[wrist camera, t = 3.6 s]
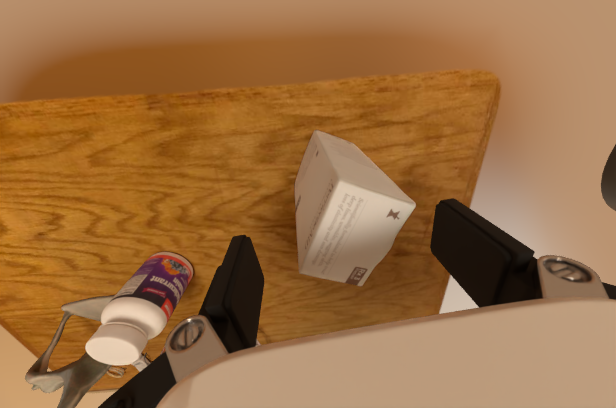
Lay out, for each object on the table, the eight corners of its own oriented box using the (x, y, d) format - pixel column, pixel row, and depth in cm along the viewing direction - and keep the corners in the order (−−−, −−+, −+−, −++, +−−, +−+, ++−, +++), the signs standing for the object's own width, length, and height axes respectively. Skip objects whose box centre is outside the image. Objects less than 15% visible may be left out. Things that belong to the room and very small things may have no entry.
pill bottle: (203, 274, 27) (161, 359, 19) (168, 288, 28) (113, 376, 20) (173, 243, 25) (110, 324, 16) (136, 260, 26) (57, 345, 17)
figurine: (85, 331, 31) (-71, 511, 18) (57, 300, 28) (-156, 490, 15) (162, 323, 31) (64, 496, 18) (142, 292, 28) (8, 472, 15)
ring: (99, 373, 35) (112, 370, 34) (104, 366, 36) (117, 363, 35) (112, 380, 36) (125, 378, 35) (117, 374, 37) (130, 372, 36)
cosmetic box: (313, 127, 20) (334, 171, 9) (357, 143, 21) (423, 200, 10) (292, 186, 22) (290, 275, 12) (332, 198, 23) (364, 291, 13)
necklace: (146, 374, 37) (173, 370, 36) (143, 378, 36) (171, 374, 36) (122, 353, 34) (151, 348, 33) (119, 357, 33) (148, 353, 33)
